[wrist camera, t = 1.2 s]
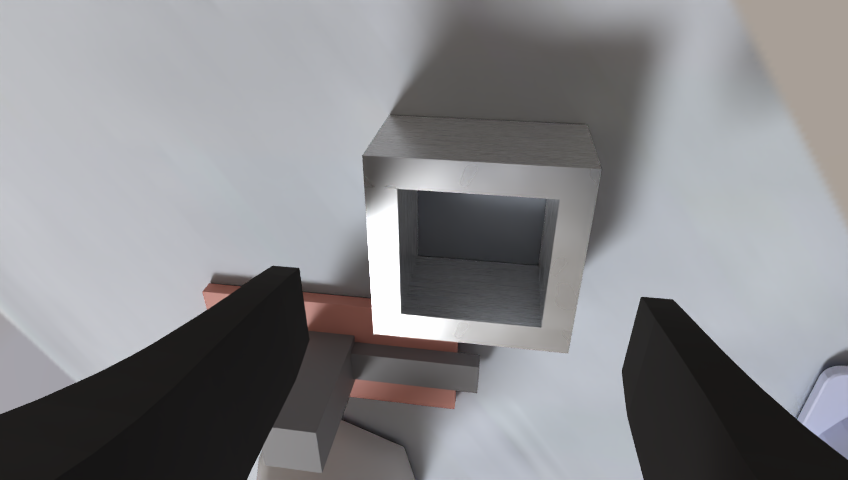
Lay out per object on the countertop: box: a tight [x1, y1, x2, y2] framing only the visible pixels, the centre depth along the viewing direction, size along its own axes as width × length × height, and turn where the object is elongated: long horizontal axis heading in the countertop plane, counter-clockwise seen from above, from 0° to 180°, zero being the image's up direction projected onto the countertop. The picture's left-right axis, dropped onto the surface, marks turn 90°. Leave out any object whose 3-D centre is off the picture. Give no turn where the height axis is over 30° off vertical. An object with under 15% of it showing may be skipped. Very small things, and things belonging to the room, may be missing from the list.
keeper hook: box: [203, 283, 480, 473], centre depth 18 cm, size 10×4×5 cm, turn 90°
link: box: [362, 115, 602, 353], centre depth 15 cm, size 5×5×3 cm
